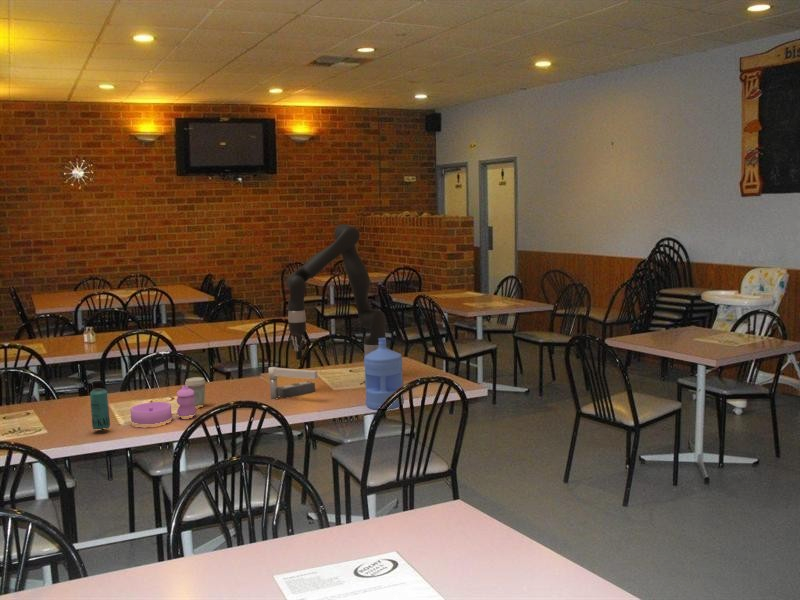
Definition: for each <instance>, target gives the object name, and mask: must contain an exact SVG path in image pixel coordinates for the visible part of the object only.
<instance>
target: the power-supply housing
mask: <svg viewBox="0 0 800 600" xmlns="http://www.w3.org/2000/svg"><path fill="white" fill-rule="evenodd" d="M277 390H278V396H280V397H279V398H281V397H283V398H282V399H284V398H285V399H287V398H286V397H289V398H294V397H298V396H302V395H306V394H312V393H315V392H316V383H315V382H313V381H309V380H304V381H300V382H295V383H291V384H284V385H281V386H280V385H279V386H277ZM293 396H294V397H293Z"/></svg>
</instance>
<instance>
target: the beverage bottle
mask: <svg viewBox="0 0 800 600" xmlns="http://www.w3.org/2000/svg"><path fill="white" fill-rule="evenodd" d="M91 383H92V384H91V387H92V388H94V389H93V390H91V391H90V393H89V397H90V398H89V399H90V409H91V410H90V412H91V413H90V414H91V427H92V429H103V428H108V427H110V426H111V420H110V418H111V417H110V408H109V399H108V391H107V390H106V389H105V388H102V387H104V386H105V384H104V380H101V379H100V380H99V379H98V380H94V381H92V382H91ZM108 429H109V428H108Z"/></svg>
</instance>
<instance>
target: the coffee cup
mask: <svg viewBox="0 0 800 600" xmlns="http://www.w3.org/2000/svg"><path fill="white" fill-rule="evenodd" d="M206 383H207V382H206V380H205V378H204V377H201V376H198V377H197V376H196V377H194V376H193V377H189V378H186V379H185V382H184V385H188V388H189V389H192V390H193V391H194V394H193V395H194V396H195V402H194V403H193V405H194V406H198V405H203V404H204V405H205V394H206V392H205V391H206Z"/></svg>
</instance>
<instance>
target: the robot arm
mask: <svg viewBox="0 0 800 600" xmlns="http://www.w3.org/2000/svg"><path fill="white" fill-rule="evenodd" d="M360 235H361V234H360V231H359V230H358V229H357V228H356V227H354V226H352V225H350V224H344V223H343V224H339V225H337V226H336V228H335V229H334V233H333V236H334V239H335V241H333V243H331V244H330V245H329V246H327V247H325V248H323V249H322V250H321V251H319V252H317V253H315V254H314V255H313V256H312V257H310V258H309V259H308V260H307V261H306V262H305V263H304V264H303V265H302V266H301V267H299V268H297V269H296V270H295V271H293V272H292V273H290V274H289V275H288V276H287V278H286V279H285V286H286V288H287V289H288V290H289V298H288V300H287V303H288V305H287V307H288V314H287V315H288V316H287V317H288V319H287V320H288V331H289V332H290V336H289V337H288V341H289V343H290V345H291V348H292V350H294V351H295V359H296V360H298V361H300V360H302V358H303V351H305V350H306V348H307V345H308V341H309V339H306V338H305V331H306V330H307V319H306V318H307V317H306V316H307V315H306V311H305V307H306V306H305V295H306V282H307V281H309V280H311V279H313V278H314V277H316V276H317V275H318V274H319V273H320V272H321V271H323V269H324V268H325V267H327V266H328V265H329V264H330V263H331V262H332V261H334V260H335V259H337V258H338V257H339V256H340V255H341V257H342V259H343V260H342V261H343V264H344V268H345V271H346V275H347V279H348V281H349V284H350V288H351V291H352V293H353V297H354V298H353V299H354V300H355V306H356V311H357V316H358V321H359V323H360V325H361V327H362V328H364V329H368V330H369V329H370V332H369V333H370V334H369V336H368V335H367V336H365V337H364V339H363V347H364V349H363V350H364V356H365V355H367V354H369V353H371V352H373V351H375V350H377V349H378V348H379V340H378V338H386V316H385V313H384V312H383V310H380V309H373V308H371V306H370V303H369V292H370V287H371V279H370V276H369V275H370V274H369V272H368V270H367V266H366V265H365V263H364V261H363V260H362V258H361V256H360V255H359V252H358V251H357V248H356V244H357V243H358V242H359V240H360Z"/></svg>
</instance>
